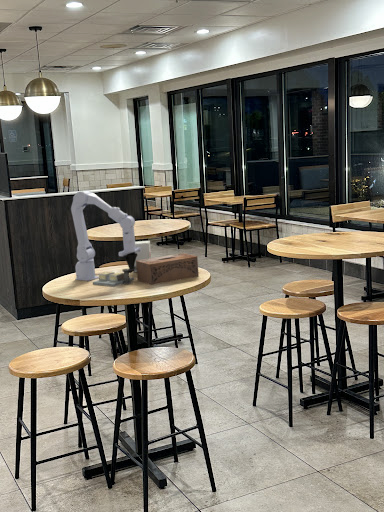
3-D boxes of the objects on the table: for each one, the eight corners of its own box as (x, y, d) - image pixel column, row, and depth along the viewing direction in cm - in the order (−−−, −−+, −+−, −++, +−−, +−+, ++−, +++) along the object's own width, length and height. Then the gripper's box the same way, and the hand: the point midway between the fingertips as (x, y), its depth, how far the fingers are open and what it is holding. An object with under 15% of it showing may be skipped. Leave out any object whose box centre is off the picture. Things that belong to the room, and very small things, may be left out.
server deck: (92, 284, 306) (91, 272, 305) (112, 278, 317) (111, 267, 316) (120, 287, 295) (119, 275, 294) (140, 280, 306) (139, 269, 305)
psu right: (109, 281, 304) (108, 274, 304) (118, 278, 309) (117, 272, 309) (117, 281, 301) (116, 275, 301) (125, 279, 306) (125, 272, 306)
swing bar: (137, 266, 317) (137, 263, 316) (144, 266, 315) (144, 263, 315) (121, 274, 300) (120, 270, 300) (128, 274, 299) (127, 270, 299)
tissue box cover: (184, 272, 320) (182, 253, 319) (198, 276, 308) (197, 256, 306) (137, 281, 308) (135, 260, 306) (151, 285, 295) (149, 264, 294)
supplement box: (151, 271, 328) (148, 242, 325) (133, 272, 328) (131, 244, 326) (152, 268, 337) (150, 240, 334) (135, 269, 337) (133, 241, 335)
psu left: (98, 280, 309) (98, 273, 308) (107, 277, 313) (107, 271, 313) (106, 281, 306) (105, 274, 305) (115, 278, 311) (114, 271, 310)
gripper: (125, 243, 304) (127, 271, 306) (144, 239, 315) (147, 266, 317) (114, 243, 308) (116, 270, 310) (134, 238, 319) (136, 265, 321)
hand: (131, 268), depth 314 cm, fingers closed
